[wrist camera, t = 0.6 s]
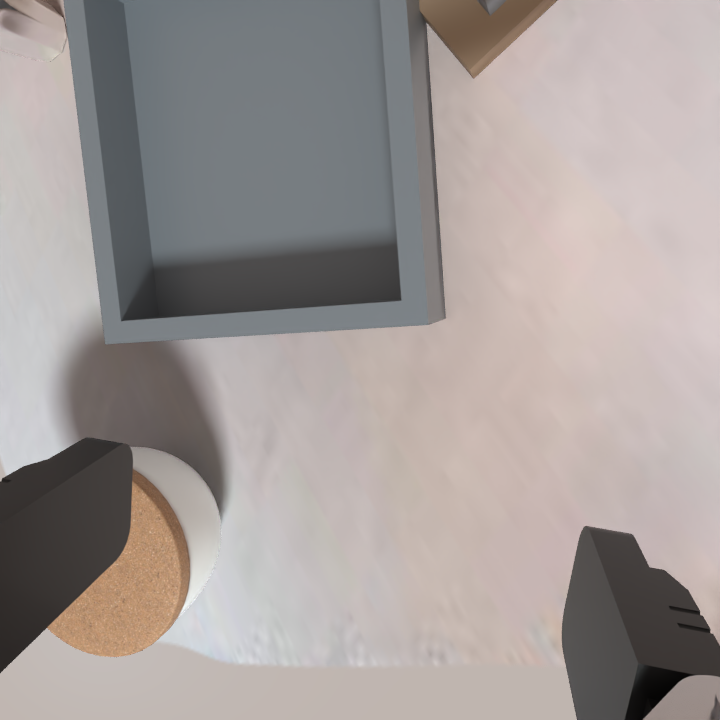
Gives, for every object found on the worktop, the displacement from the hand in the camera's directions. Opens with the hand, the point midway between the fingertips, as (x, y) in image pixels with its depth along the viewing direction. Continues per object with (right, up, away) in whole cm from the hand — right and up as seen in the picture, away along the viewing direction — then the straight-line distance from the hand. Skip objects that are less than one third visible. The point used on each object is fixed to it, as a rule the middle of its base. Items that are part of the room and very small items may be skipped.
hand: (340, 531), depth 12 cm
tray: (-5, +15, +25) cm, 30 cm away
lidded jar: (-11, -6, +30) cm, 33 cm away
